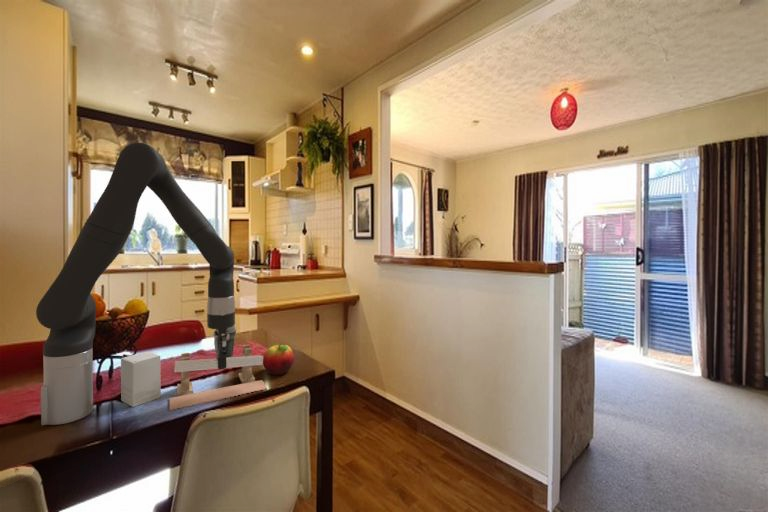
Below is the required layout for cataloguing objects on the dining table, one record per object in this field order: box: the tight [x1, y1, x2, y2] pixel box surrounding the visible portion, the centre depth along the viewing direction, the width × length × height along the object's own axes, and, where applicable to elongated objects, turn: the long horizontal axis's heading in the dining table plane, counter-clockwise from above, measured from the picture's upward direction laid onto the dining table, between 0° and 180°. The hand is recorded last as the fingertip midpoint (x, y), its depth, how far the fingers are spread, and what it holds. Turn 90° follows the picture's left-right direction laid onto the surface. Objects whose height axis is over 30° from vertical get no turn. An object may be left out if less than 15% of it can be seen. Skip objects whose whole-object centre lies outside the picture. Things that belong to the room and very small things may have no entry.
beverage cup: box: [226, 325, 237, 358], centre depth 126 cm, size 7×7×20 cm
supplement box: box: [120, 351, 162, 408], centre depth 96 cm, size 7×7×13 cm
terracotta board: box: [169, 379, 268, 411], centre depth 100 cm, size 26×7×1 cm, turn 123°
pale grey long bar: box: [173, 354, 264, 373], centre depth 100 cm, size 24×2×2 cm, turn 124°
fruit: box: [262, 343, 295, 376], centre depth 118 cm, size 11×11×10 cm
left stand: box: [176, 352, 194, 397], centre depth 102 cm, size 4×6×11 cm, turn 33°
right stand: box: [238, 344, 256, 384], centre depth 111 cm, size 4×6×11 cm, turn 33°
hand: (221, 366), depth 100 cm, fingers closed on pale grey long bar, 2 cm apart
